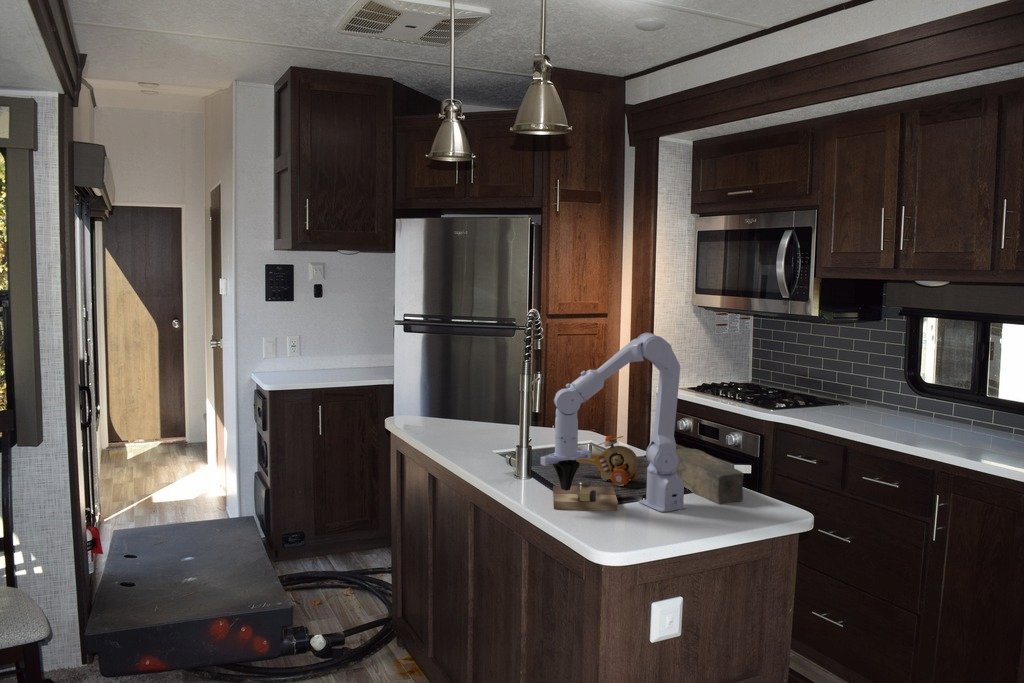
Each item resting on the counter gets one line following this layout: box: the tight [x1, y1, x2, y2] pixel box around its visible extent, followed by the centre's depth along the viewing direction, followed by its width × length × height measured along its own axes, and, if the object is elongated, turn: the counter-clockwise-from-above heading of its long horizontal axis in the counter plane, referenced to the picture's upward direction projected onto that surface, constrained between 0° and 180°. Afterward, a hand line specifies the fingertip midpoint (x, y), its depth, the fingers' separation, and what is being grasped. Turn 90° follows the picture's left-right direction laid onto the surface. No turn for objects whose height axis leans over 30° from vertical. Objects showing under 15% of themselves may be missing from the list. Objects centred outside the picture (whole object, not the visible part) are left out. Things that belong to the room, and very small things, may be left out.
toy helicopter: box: [576, 435, 638, 486], centre depth 233 cm, size 8×21×14 cm, turn 60°
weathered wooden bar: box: [676, 447, 745, 505], centre depth 226 cm, size 10×26×10 cm, turn 24°
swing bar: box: [578, 480, 592, 501], centre depth 210 cm, size 10×3×3 cm, turn 175°
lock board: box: [552, 485, 619, 512], centre depth 214 cm, size 16×14×5 cm
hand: (565, 489), depth 210 cm, fingers closed
